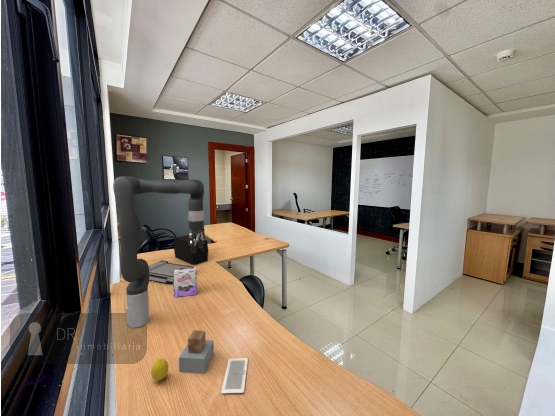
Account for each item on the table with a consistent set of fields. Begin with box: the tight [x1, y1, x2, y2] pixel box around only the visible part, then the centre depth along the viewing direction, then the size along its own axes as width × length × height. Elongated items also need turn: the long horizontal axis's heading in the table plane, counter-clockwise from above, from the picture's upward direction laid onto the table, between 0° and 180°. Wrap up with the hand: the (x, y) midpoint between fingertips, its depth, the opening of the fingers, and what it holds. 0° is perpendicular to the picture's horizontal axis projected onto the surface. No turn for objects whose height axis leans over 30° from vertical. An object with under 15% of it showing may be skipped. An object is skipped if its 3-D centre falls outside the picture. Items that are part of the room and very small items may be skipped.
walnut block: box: [187, 329, 206, 354], centre depth 89 cm, size 5×5×6 cm
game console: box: [148, 259, 195, 286], centre depth 168 cm, size 21×32×8 cm, turn 72°
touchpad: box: [220, 357, 249, 394], centre depth 83 cm, size 8×15×2 cm, turn 2°
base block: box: [178, 339, 215, 374], centre depth 89 cm, size 10×10×6 cm
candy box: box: [172, 267, 198, 299], centre depth 142 cm, size 14×6×16 cm, turn 105°
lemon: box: [150, 358, 169, 381], centre depth 81 cm, size 6×6×8 cm
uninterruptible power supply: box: [173, 234, 209, 267], centre depth 206 cm, size 16×34×20 cm, turn 52°
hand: (197, 250), depth 113 cm, fingers open, 8 cm apart
